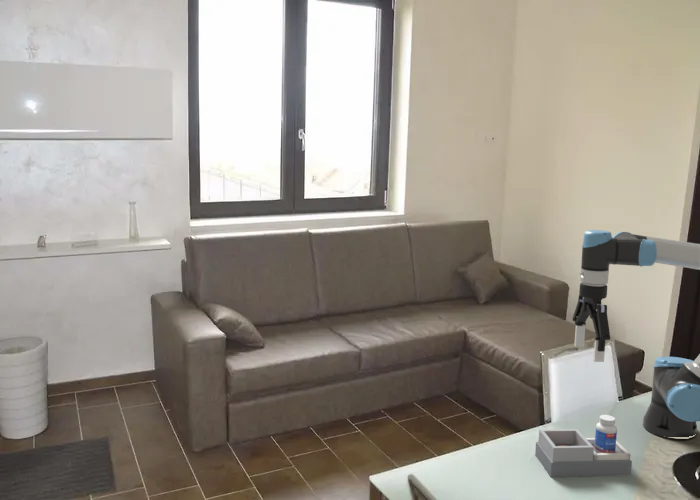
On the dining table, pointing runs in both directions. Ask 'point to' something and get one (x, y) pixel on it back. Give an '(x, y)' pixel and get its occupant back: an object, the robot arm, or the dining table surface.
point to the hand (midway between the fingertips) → (588, 353)
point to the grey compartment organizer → (578, 455)
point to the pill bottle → (605, 435)
